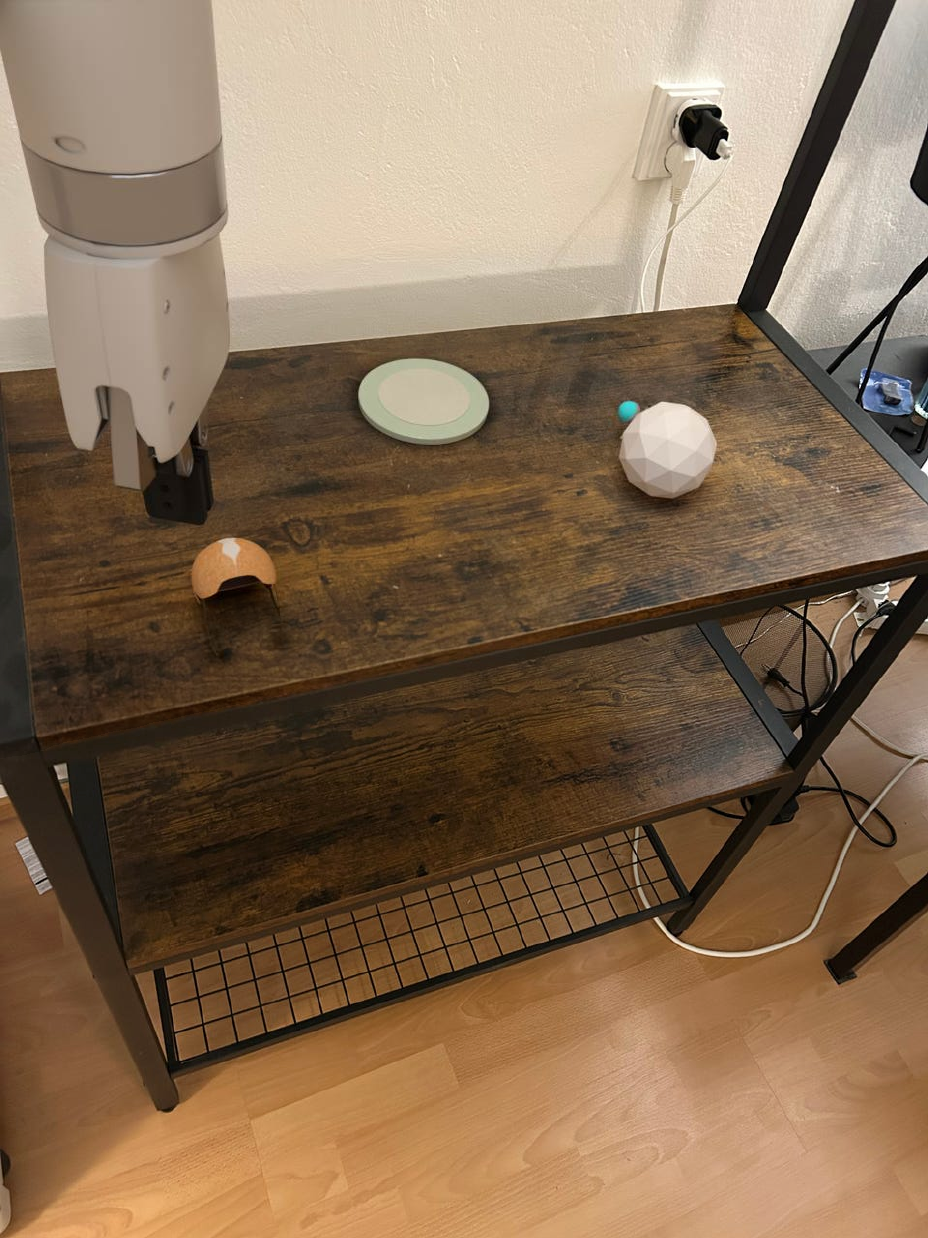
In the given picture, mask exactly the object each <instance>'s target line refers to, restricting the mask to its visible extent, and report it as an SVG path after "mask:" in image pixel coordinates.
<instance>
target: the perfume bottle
mask: <svg viewBox="0 0 928 1238" xmlns="http://www.w3.org/2000/svg"><path fill="white" fill-rule="evenodd" d="M640 407H641V406H640V405H639V404H638V402H636V401H631V400H627V401H624V402H622V403H621V404H620V405H619V407H618V410H617V414H618V417H619V419H620V421H621V422H622V423H624V424H628V426H627V427H626V428H625V429H624V431H623V432H622V435H621V436H620V438H619V440H621V444H620V449H619V455H618V459H619V461H620V463H621V466H622V468H623V471H624V473H625V476H626V477H627V480H628V482H629V483H631V484H632V485H634V486H635V487H637V488H638V489H640V491H642V492H644V493H645V494H647V495H648V496H650V497H656V498H666V499H675V498H677V497H680V496H682V495H684V494H687V493H689V492H691V491H694V490H696V489H699V488H700V486H701V484H702V483H703V482H704V480H705V478H706V477H707V475H708V474H709V472H711V470H712V468H713V463H714V460H715V455H716V452H717V451H716V450H717V447H718V442H717V440H716V437H715V435H714V433H713V430H712V428H711V426H710V424H709V421H708V419H707V418H706V417H704V416H703V415H702V414H700V413H698V412H697V411H696V410H694V409H693V408H691V407H690V406H688V405H686V404H681V403H675V402H668V401H661V402H658V403H656V404H655V405H652V406H651V404H648V405H647V406H646V408H644V410H643V411H641V408H640Z"/></svg>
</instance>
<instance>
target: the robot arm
mask: <svg viewBox="0 0 928 1238" xmlns="http://www.w3.org/2000/svg"><path fill="white" fill-rule="evenodd" d="M214 25H215V24H214V14H213V1H212V0H0V55H1V56H0V57H1V61H2V64H3V69H4V74H5V77H6V82H7V86H8V90H9V94H10V99H11V103H12V108H13V111H14V116H15V120H16V125H17V130H18V133H19V139H20V145H21V148H22V152H23V153H22V154H23V156H24V161H25V166H26V170H27V174H28V179H29V183H30V187H31V192H32V196H33V200H34V204H35V210H36V214H37V217H38V221H39V223H40V226H41V229H43V230H44V231H45V233H46V234H47V235H48V236H47V237H46V240H45V242H44V245H43V260H44V261H43V262H44V265H43V267H44V283H45V286H44V287H45V299H46V301H45V302H46V310H47V318H48V319H47V320H48V326H49V327H48V329H49V333H50V334H49V335H50V340H51V346H52V347H51V348H52V354H53V359H54V365H55V370H56V371H55V372H56V376H57V382H58V387H59V392H60V398H61V402H62V407H63V413H64V417H65V421H66V426H67V429H68V433H69V436H70V439H71V441H72V444H73V445H74V446H75V447H76V448H77V449H79V450H86V451H91V452H93V451H94V449H95V447H96V446H97V444H98V442H99V441H100V439H101V437H102V436H103V434H104V433H105V431H106V429H107V427H108V426H109V431H110V442H111V443H110V445H111V456H112V467H113V468H112V469H113V471H112V472H113V483H114V486H115V488H119V489H125V490H131V491H137V492H142V496H143V502H144V507H145V512H146V514H147V515H148V516H149V517H151V518H153V519H160V520H164V521H165V520H166V521H171V522H178V523H183V524H189V525H193V526H203V525H204V524H205V523H206V521H207V519H208V515H209V514H208V512H210V511H211V510H212V508H213V506H214V503H215V501H214V500H215V499H214V491H213V482H212V474H211V466H210V458H209V450H208V449H205V446H206V445H207V441H208V436H209V423H208V422H209V421H208V401H209V399H210V396H211V395H212V393H213V391H214V389H215V387H216V385H217V382H218V381H219V379H220V376H221V374H222V372H223V370H224V368H225V365H226V362H227V359H228V356H229V353H230V346H231V345H230V344H231V325H230V323H231V321H230V309H229V297H228V295H229V294H228V287H227V277H226V271H225V264H224V262H225V261H224V255H223V248H222V242H221V241H222V240H221V236H220V235H221V232H222V231H223V230H224V228H225V226H226V225H227V224H228V220H229V204H228V203H229V202H228V193H227V181H226V180H227V179H226V167H225V166H226V165H225V154H224V153H225V152H224V141H223V140H224V139H223V126H222V111H221V101H220V88H219V76H218V65H217V54H216V53H217V51H216V40H215V39H216V38H215V28H214ZM203 448H204V449H203Z"/></svg>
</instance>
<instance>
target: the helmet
mask: <svg viewBox="0 0 928 1238" xmlns="http://www.w3.org/2000/svg"><path fill="white" fill-rule="evenodd" d="M277 575H278V574H277V571H276V568H275V565H274V563H273V560H272V559H271V556H270V554H268V553H267V551H266V550H265V549H264V548H263V547H261V546H260V545H259V544H258V543H255V542H254V541H251V540H249V539H245V538H239V537H225V538H222V539H219V540H216V541H214V542H212V543H211V544H208V545H207V546H206V547H204V548H203V549H202V550H201V551H200V552H199V554H198V555H197V556H196V557H195V559H194V562H193V564H192V568H191V573H190V576H191V586H192V591H193V595H194V597H195V598H196V600H197V602H198V603H199V604H200V607H201V612H202V615H203V620H204V623H205V626H206V631H207V633H208V634H207V635H208V637H209V641H210V643H211V647H212V649H213V651H214V653H215V655H216V657H217V658H218V657H219V654H218V653H217V651H216V649H215V647H214V644H213V642H212V641H213V640H212V637H211V635H210V631H209V625H208V619H207V611H206V604H205V599H207V598H209V597H212V596H213V595H215V594H217V593H218V592H222V591H227V590H228V591H229V590H232V589H237V588H242V587H246V586H250V585H254V584H258V583H261V584H262V585H263V587H264V588H265V589H266V590H267V591H268V593H269V596H270V599H271V602H272V604H273V607H274V608H275V610H276V612H277V615H278V619H279V622H280V623H279V624H280V630H281V643H284V626H283V620H282V613H281V607H280V606H279V605H280V600H279V596H278V591H277V586H276V583H277ZM273 588H274V590H275V595H276V598H275V596H274V593H273ZM276 599H277V600H276Z"/></svg>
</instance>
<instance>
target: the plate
mask: <svg viewBox="0 0 928 1238" xmlns="http://www.w3.org/2000/svg"><path fill="white" fill-rule="evenodd" d="M357 402H358V408H359V410H360V412H361V415H362V416H363V417H364V419H365V420H366V421H367V422H368V424H370V426H372V427H373V428H374V429H376V430H378V432H381V434H384V435H386V436H388V437H390V438H393V439H395V440H398V441H401V442H405V443H409V444H415V445H423V446H441V445H448V444H452V443H456V442H459V441H463V440H465V439H466V438H469V437H471V436H472V435H474V434H475V433H476V432H478V431H479V430H480V429H481V428H482V426H483V425H484V424H485V422H486V421H487V418H488V416H489V411H490V399H489V395H488V392H487V390H486V388H485V387H484V386H483V384H482V382H480V381H479V380H478V379H477V378H476V377H475V376H473V375H472V374H471V373H469V372H467V370H464V369H462V368H461V367H458V366H456V365H454V364H451V363H448V362H444V361H442V360H436V359H429V358H417V357H415V358H402V359H396V360H393V361H389V362H386V363H383V364H380V365H379V366H377V367H375V368H374V369H372V370H371V371H370V372H368V373H367V374H366V375H365V376H364V378H363V379H362V380H361V383H360V385H359V387H358V396H357Z"/></svg>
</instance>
